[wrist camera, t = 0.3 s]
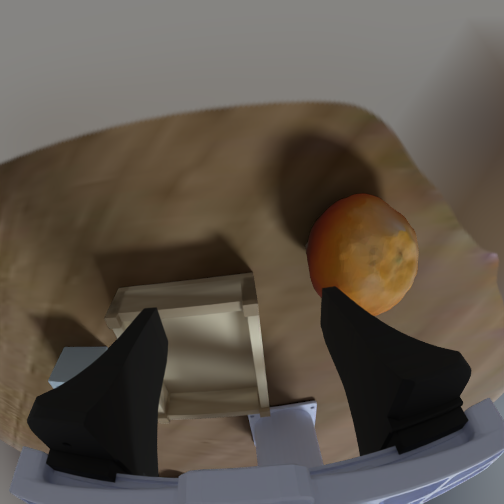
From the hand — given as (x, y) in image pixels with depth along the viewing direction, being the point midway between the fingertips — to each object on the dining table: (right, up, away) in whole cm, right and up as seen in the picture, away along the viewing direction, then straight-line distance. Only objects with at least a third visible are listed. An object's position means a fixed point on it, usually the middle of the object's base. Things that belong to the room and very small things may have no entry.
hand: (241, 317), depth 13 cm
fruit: (+8, +4, +10) cm, 13 cm away
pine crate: (-4, -6, +14) cm, 15 cm away
